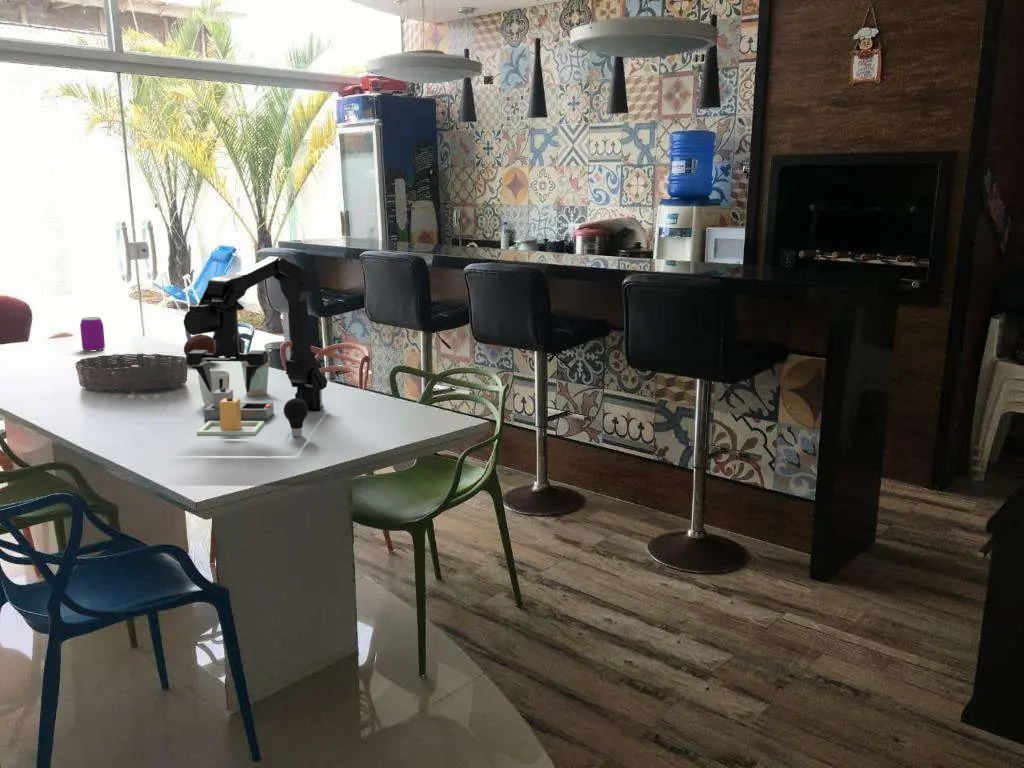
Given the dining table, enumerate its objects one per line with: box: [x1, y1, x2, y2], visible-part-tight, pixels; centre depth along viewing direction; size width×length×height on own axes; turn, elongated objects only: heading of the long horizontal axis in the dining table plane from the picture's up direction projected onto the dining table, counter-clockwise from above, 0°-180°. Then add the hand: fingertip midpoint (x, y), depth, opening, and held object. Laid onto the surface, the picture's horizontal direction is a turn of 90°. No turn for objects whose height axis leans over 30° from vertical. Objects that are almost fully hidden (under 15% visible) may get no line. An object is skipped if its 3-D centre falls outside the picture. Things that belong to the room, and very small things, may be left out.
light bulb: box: [283, 398, 309, 438], centre depth 210 cm, size 6×6×10 cm
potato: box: [183, 334, 215, 363], centre depth 298 cm, size 11×13×10 cm
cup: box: [197, 370, 230, 408], centre depth 237 cm, size 8×8×10 cm
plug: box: [219, 397, 243, 431], centre depth 213 cm, size 4×4×9 cm
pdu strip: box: [203, 401, 275, 422], centre depth 225 cm, size 16×8×4 cm, turn 93°
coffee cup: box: [239, 352, 271, 397], centre depth 255 cm, size 8×9×12 cm
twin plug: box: [213, 388, 234, 409], centre depth 224 cm, size 4×4×8 cm
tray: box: [196, 421, 265, 436], centre depth 214 cm, size 14×10×2 cm
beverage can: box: [79, 316, 106, 352], centre depth 319 cm, size 8×8×12 cm
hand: (229, 391), depth 212 cm, fingers open, 9 cm apart
